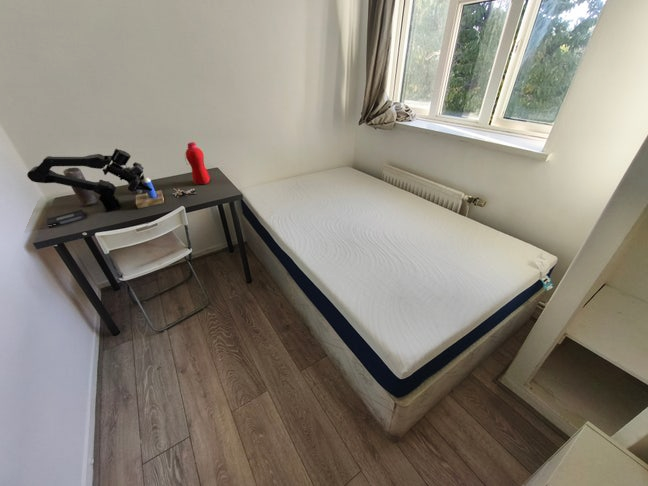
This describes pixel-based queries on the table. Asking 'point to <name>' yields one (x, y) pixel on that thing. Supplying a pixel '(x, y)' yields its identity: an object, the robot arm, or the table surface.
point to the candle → (82, 194)
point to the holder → (149, 200)
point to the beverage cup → (134, 189)
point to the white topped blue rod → (148, 182)
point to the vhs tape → (65, 218)
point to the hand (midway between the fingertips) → (152, 188)
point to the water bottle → (197, 164)
